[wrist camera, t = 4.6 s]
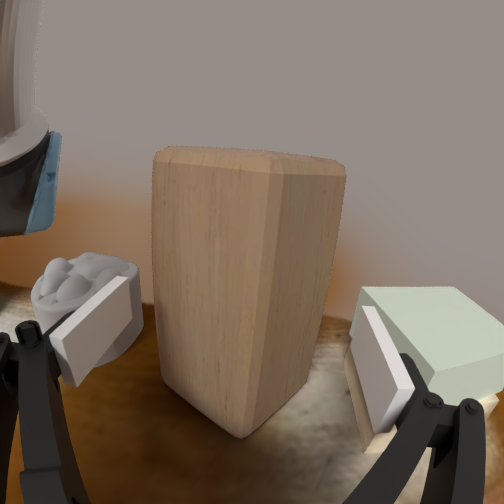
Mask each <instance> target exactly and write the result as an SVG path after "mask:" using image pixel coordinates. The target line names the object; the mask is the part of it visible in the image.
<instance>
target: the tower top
mask: <svg viewBox="0 0 504 504" xmlns="http://www.w3.org/2000/svg"><path fill="white" fill-rule="evenodd" d="M361 306H374V307H375V309H376V311H377V312H378V314H379V316H380V318H381V320H382V322H383V324H384V326H385V328H386V330H387V331H388V333H389V335H390V337H391V339H392V341H393V343H394V345H395V347H396V349H397V351H398V353H406V354H408V355H409V356H410V357H411V358H412V359H413V360H414V362H415V364H416V366H417V368H418V370H419V372H420V374H421V376H422V377H423V379H424V381H425V383H426V385H427V387H428V389H429V391H430V392H433V393H436V394H437V395H439V396H440V397H441V398H442V399H443V401H444V403H445V404H448V405H454V406H458V405H459V404H460V402H461V401H462V400H463V399H466V398H472V399H475V400H477V401H479V400H482V399H484V398H486V397H489V396H491V395H493V394H496V393H498V392H500V391H502V389H503V387H504V325H503V324H501V323H500V322H499V321H498V320H496V319H495V318H494V317H493V316H491V315H490V314H489V313H487V312H486V311H485V310H484V309H482V308H481V307H480V306H478V305H477V304H476V303H474V302H473V301H472V300H471V299H469V298H468V297H467V296H465V295H464V294H463V293H461V292H460V291H459V290H457V289H456V288H454V287H361V291H360V295H359V299H358V303H357V307H356V311H355V314H354V318H353V322H352V325H351V329H350V332H349V334H350V336H351V337H352V338H353V335H354V331H355V328H356V324H357V321H358V317H359V314H360V310H361Z"/></svg>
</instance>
